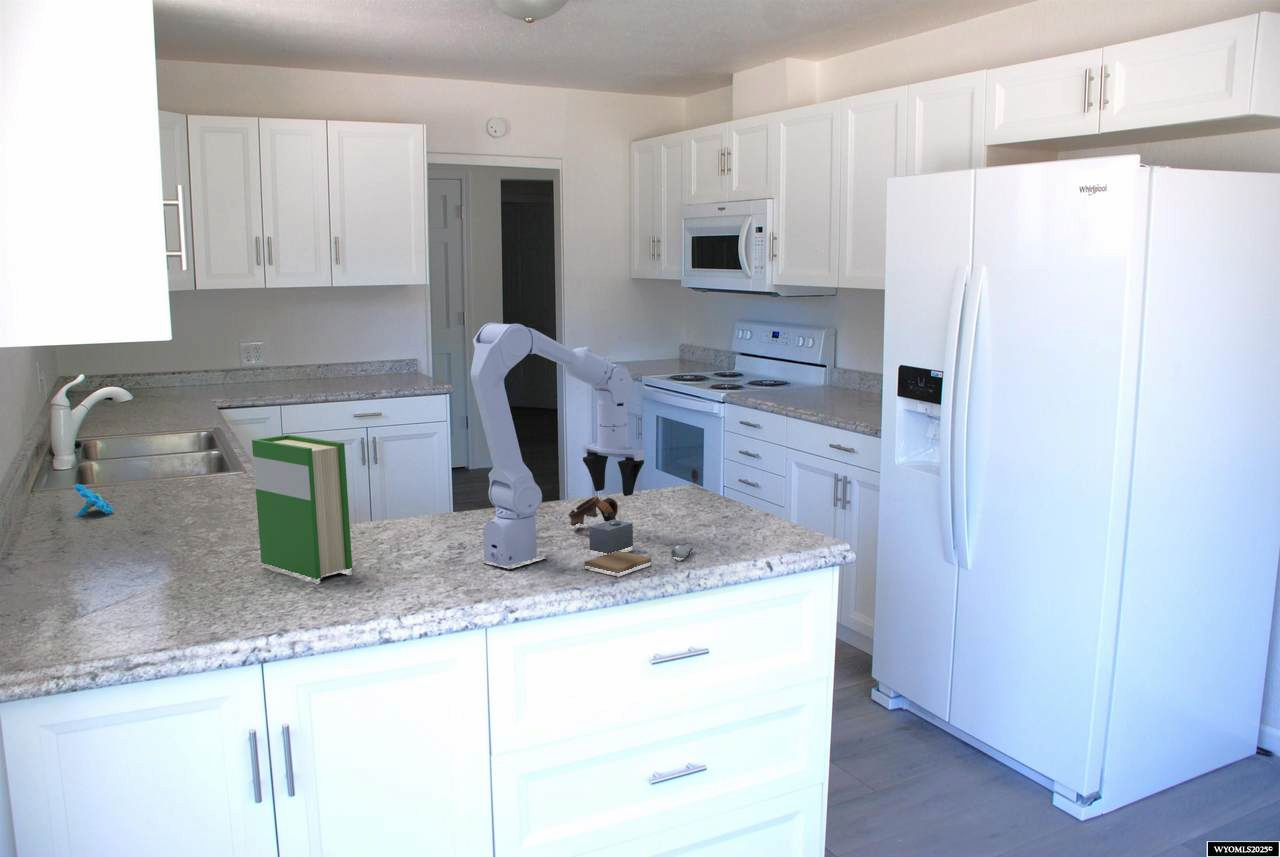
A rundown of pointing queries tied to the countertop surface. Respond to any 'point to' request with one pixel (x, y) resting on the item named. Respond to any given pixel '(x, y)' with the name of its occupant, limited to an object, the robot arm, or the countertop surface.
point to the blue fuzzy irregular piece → (92, 500)
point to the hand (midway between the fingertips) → (613, 492)
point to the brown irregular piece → (594, 510)
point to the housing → (611, 536)
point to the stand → (617, 561)
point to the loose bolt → (681, 551)
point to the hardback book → (302, 504)
